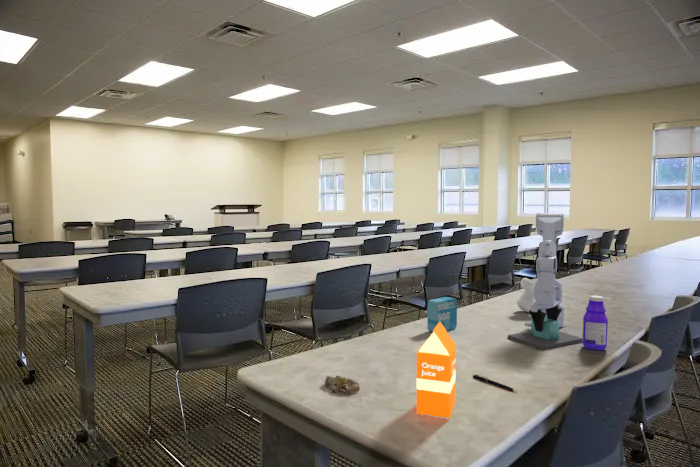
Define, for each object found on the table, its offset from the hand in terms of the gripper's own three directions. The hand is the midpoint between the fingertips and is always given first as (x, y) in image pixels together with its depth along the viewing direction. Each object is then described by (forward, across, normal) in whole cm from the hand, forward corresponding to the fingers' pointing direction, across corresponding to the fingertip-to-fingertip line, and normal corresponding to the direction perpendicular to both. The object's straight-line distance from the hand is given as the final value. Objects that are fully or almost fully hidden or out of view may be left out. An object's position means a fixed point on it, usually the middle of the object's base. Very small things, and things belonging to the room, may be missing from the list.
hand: (545, 329), depth 165 cm
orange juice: (+4, +71, +17) cm, 73 cm away
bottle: (+4, -5, +15) cm, 16 cm away
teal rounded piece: (+3, 0, -1) cm, 3 cm away
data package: (+4, +19, -30) cm, 36 cm away
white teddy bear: (+4, -32, -27) cm, 42 cm away
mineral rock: (+4, +82, -7) cm, 82 cm away
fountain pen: (+4, +48, +16) cm, 50 cm away
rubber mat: (+4, 0, 0) cm, 4 cm away
